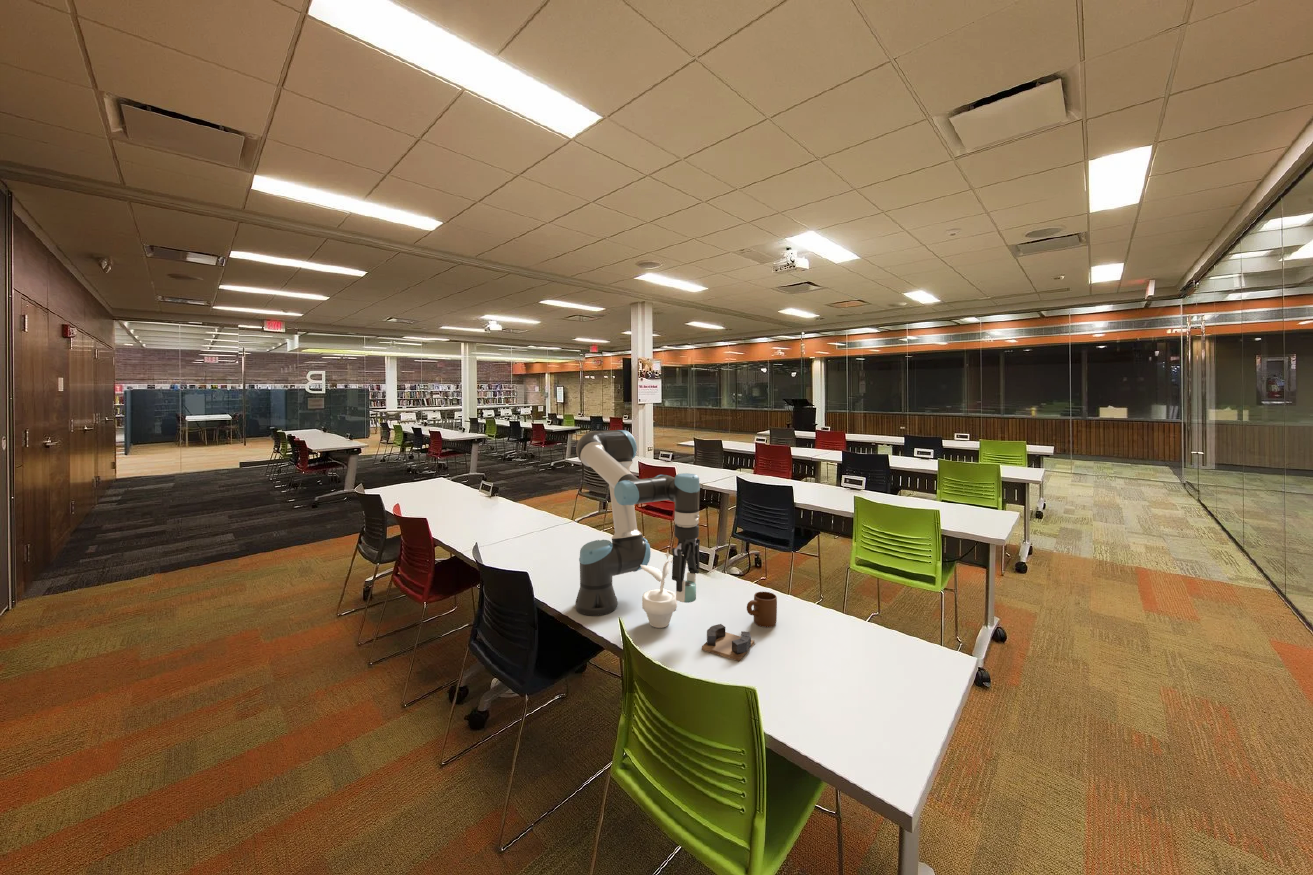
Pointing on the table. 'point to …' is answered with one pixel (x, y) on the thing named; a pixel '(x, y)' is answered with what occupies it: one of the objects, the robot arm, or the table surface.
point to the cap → (690, 591)
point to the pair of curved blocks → (737, 645)
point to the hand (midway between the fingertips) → (685, 596)
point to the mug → (764, 609)
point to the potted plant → (659, 598)
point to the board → (726, 647)
